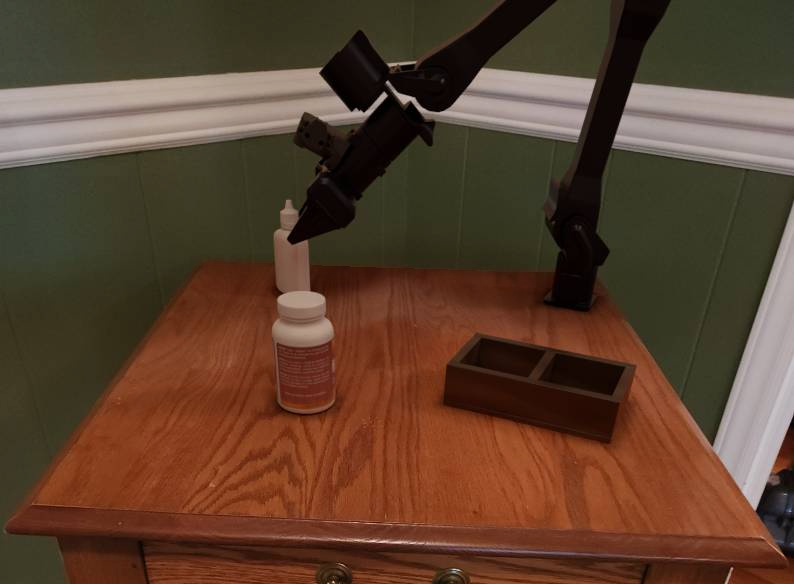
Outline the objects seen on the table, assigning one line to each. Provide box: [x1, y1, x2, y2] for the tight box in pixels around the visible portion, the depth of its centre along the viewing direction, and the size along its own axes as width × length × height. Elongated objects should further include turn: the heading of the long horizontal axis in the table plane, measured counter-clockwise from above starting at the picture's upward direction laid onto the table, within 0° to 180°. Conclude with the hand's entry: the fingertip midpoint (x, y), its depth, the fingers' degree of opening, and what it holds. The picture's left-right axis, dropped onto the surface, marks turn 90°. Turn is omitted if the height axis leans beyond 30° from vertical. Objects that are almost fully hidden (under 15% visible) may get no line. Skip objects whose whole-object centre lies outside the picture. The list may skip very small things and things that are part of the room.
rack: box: [442, 332, 637, 444], centre depth 77 cm, size 9×18×5 cm, turn 66°
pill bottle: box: [271, 290, 336, 415], centre depth 74 cm, size 6×6×11 cm
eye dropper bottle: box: [273, 199, 311, 294], centre depth 99 cm, size 4×6×12 cm
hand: (293, 231), depth 98 cm, fingers open, 9 cm apart
